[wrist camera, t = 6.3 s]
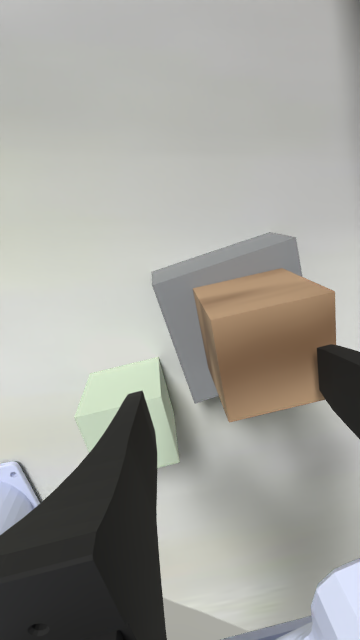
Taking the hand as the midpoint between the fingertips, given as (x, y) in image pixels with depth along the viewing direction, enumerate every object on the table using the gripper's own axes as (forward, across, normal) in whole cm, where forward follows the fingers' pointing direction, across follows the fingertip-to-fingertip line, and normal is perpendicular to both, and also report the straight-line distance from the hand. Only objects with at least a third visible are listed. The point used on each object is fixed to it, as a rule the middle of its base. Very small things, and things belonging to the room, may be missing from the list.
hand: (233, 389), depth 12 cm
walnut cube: (+6, -2, 0) cm, 6 cm away
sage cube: (+10, +6, +5) cm, 12 cm away
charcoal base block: (+10, -2, 0) cm, 10 cm away
